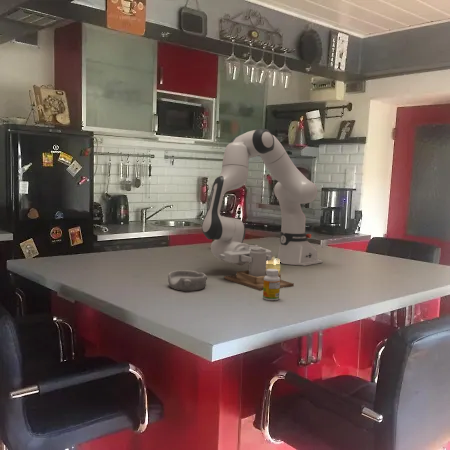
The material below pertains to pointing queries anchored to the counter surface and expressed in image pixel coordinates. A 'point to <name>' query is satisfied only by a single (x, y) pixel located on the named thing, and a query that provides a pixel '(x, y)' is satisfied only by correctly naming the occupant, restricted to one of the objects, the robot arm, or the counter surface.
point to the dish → (187, 280)
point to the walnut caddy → (253, 280)
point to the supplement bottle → (271, 285)
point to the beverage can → (258, 262)
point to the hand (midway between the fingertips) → (260, 259)
